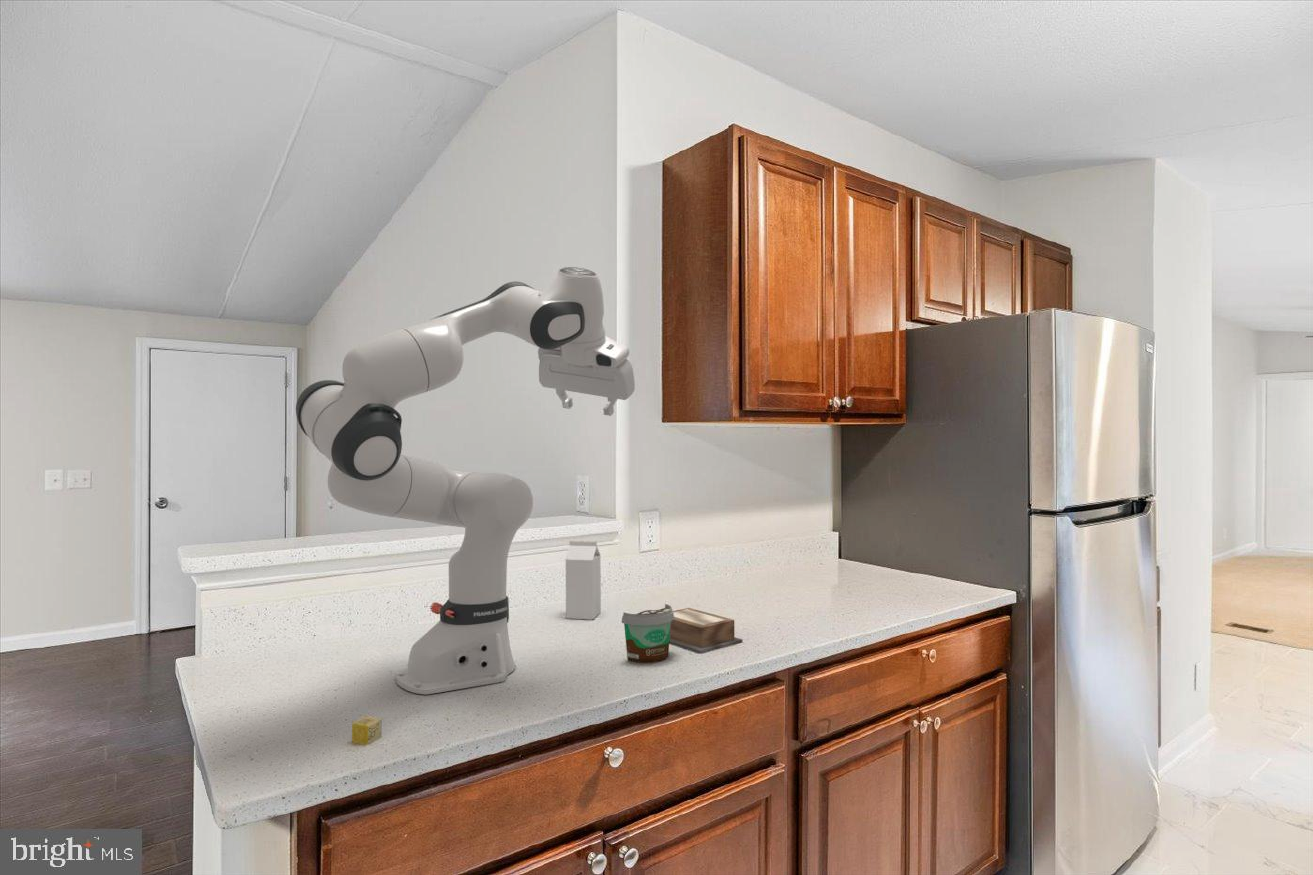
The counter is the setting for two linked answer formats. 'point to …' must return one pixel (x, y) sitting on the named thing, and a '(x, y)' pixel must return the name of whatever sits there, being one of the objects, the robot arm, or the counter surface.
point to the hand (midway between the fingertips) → (588, 410)
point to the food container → (648, 634)
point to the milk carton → (583, 580)
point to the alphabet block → (366, 730)
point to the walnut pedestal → (701, 631)
